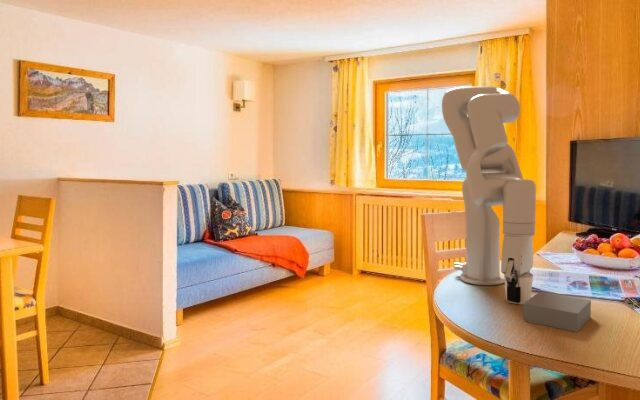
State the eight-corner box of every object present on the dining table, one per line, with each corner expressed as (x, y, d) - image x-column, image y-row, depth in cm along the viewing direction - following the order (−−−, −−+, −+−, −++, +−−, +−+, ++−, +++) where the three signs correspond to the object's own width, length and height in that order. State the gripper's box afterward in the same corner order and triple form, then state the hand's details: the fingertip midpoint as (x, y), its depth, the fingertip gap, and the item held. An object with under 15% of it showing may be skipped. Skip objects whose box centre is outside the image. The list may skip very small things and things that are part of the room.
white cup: (520, 306, 116) (520, 278, 115) (497, 299, 122) (497, 272, 121) (538, 301, 119) (539, 274, 118) (516, 294, 125) (516, 269, 124)
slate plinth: (523, 320, 106) (523, 303, 106) (539, 307, 114) (539, 291, 114) (577, 331, 99) (577, 313, 99) (590, 317, 107) (590, 300, 107)
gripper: (516, 222, 127) (515, 288, 129) (490, 232, 115) (490, 304, 117) (545, 225, 122) (544, 293, 124) (521, 235, 110) (521, 310, 112)
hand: (518, 297), depth 120 cm, fingers closed on white cup, 5 cm apart
